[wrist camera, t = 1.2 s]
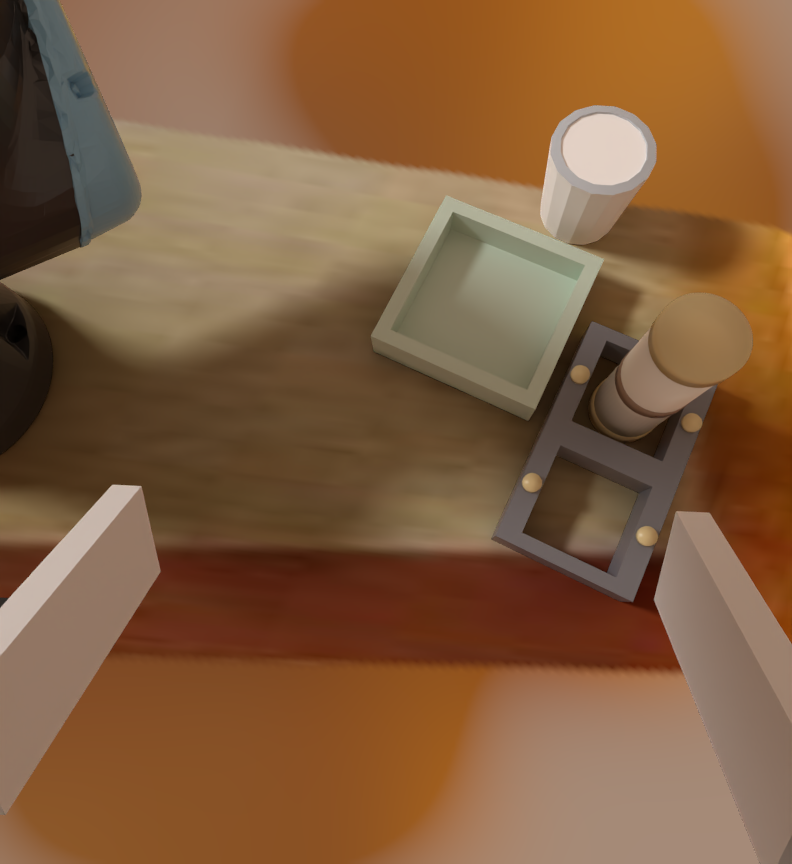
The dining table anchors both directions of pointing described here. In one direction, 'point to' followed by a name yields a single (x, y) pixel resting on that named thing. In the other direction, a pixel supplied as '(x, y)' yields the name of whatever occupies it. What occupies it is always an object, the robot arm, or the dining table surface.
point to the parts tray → (486, 306)
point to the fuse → (671, 366)
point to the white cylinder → (594, 172)
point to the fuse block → (603, 472)
